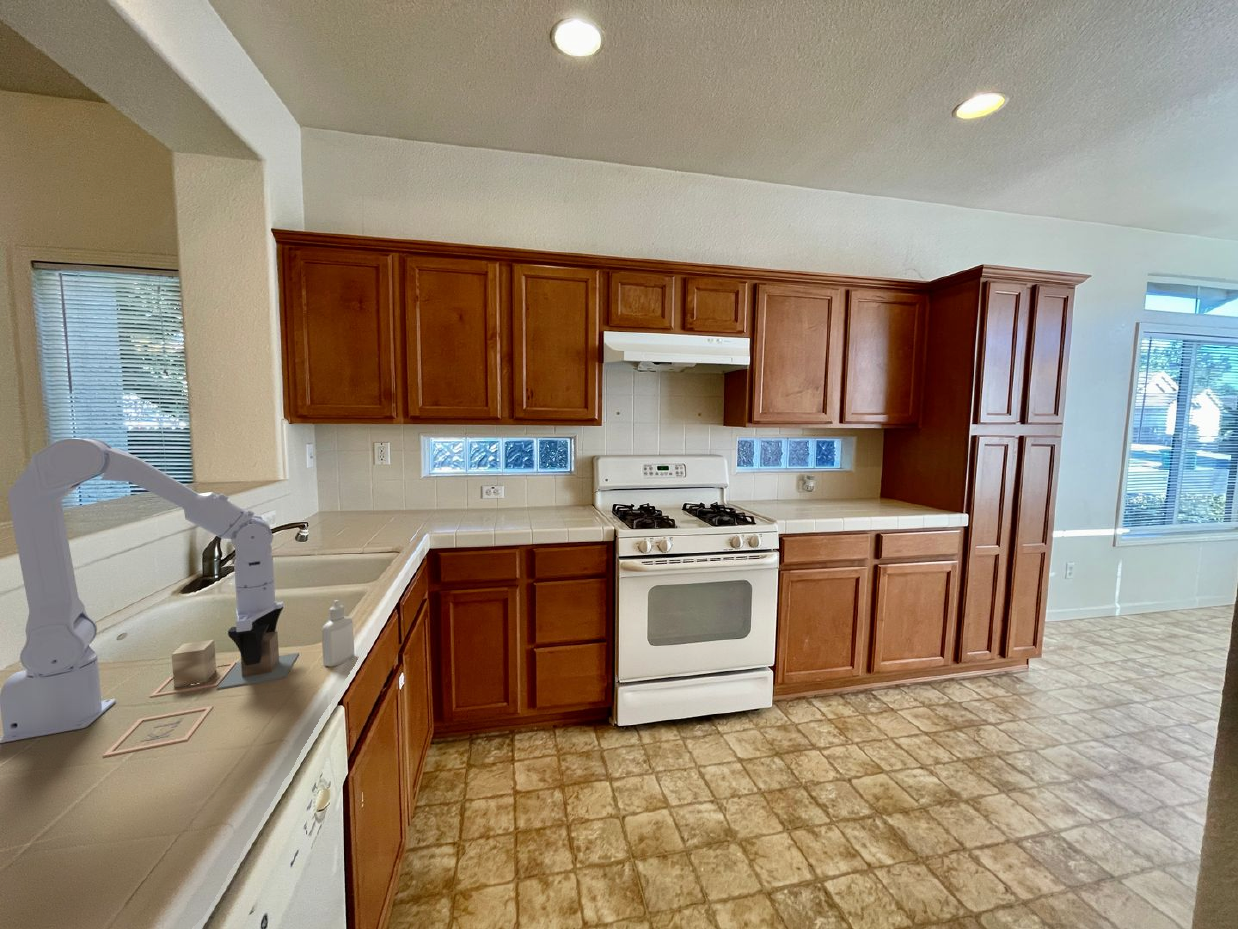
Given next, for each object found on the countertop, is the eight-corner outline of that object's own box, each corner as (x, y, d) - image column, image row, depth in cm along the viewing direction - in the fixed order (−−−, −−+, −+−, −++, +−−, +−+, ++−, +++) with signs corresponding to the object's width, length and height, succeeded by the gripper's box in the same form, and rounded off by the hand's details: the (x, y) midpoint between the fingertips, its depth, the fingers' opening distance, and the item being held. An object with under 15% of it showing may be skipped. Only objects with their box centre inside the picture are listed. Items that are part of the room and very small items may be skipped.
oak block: (174, 687, 84) (171, 654, 84) (186, 675, 88) (183, 643, 88) (206, 682, 86) (203, 649, 85) (216, 670, 90) (214, 639, 89)
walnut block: (242, 677, 87) (239, 644, 86) (251, 665, 91) (249, 635, 91) (271, 672, 88) (269, 640, 88) (279, 661, 93) (277, 631, 92)
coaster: (216, 690, 83) (216, 687, 83) (237, 664, 92) (237, 662, 92) (285, 678, 87) (285, 676, 87) (298, 654, 96) (298, 653, 96)
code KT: (102, 758, 66) (102, 755, 66) (139, 720, 74) (139, 719, 74) (187, 741, 69) (187, 739, 69) (213, 707, 78) (213, 705, 78)
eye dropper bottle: (358, 659, 94) (355, 599, 93) (325, 669, 90) (322, 607, 89) (352, 652, 97) (349, 594, 96) (320, 661, 93) (316, 601, 92)
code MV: (149, 697, 81) (149, 696, 81) (176, 672, 89) (175, 671, 89) (217, 686, 84) (217, 685, 84) (236, 663, 93) (236, 661, 93)
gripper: (269, 592, 83) (273, 668, 84) (290, 570, 97) (294, 635, 98) (219, 597, 81) (224, 676, 82) (248, 574, 94) (252, 641, 95)
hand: (259, 654), depth 89 cm, fingers open, 7 cm apart
